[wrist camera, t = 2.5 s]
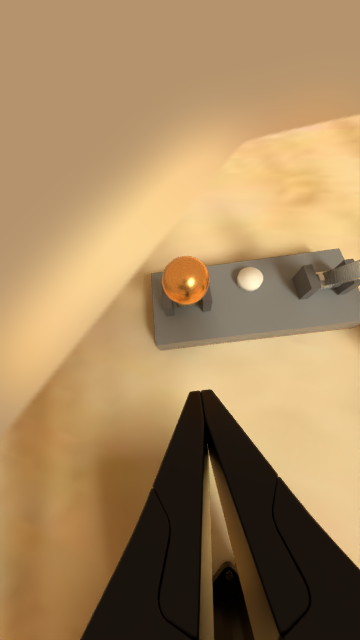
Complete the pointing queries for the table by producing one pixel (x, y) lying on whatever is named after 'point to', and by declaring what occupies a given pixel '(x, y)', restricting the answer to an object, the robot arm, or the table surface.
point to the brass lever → (185, 281)
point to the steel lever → (339, 275)
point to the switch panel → (258, 302)
